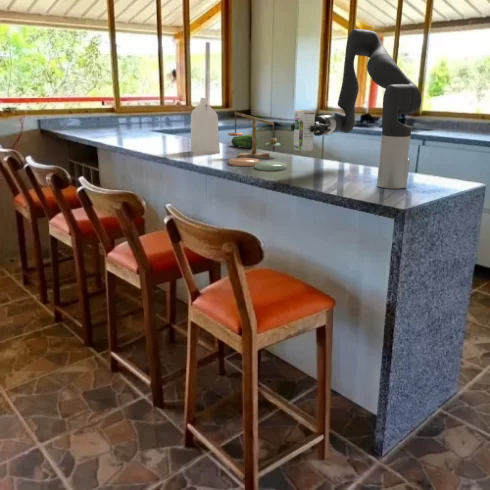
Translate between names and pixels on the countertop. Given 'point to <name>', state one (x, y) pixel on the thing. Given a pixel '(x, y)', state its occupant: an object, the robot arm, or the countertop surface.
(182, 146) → the countertop surface
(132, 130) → the countertop surface
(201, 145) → the milk
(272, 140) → the balance
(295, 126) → the syrup box
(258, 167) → the sage dish
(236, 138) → the vegetable
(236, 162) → the terracotta dish
